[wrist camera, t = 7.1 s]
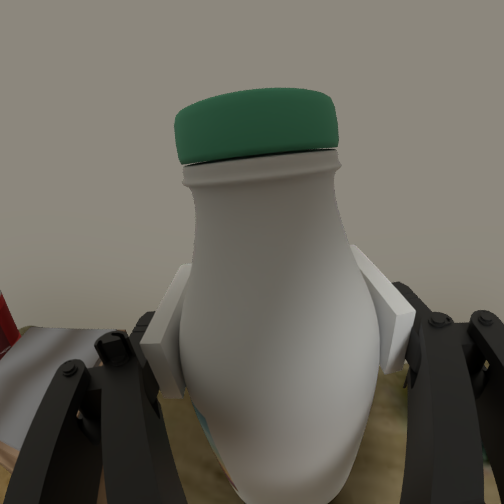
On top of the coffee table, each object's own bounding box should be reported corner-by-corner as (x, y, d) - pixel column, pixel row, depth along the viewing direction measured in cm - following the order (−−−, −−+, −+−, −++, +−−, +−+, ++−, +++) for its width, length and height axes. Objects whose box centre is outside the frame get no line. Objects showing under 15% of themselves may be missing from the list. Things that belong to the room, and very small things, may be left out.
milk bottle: (362, 441, 15) (395, 104, 8) (320, 533, 9) (371, 30, 2) (266, 415, 19) (222, 123, 12) (209, 490, 13) (66, 138, 6)
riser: (153, 390, 24) (125, 323, 21) (115, 519, 10) (45, 469, 8) (63, 381, 24) (31, 322, 21) (11, 473, 11) (-46, 414, 8)
